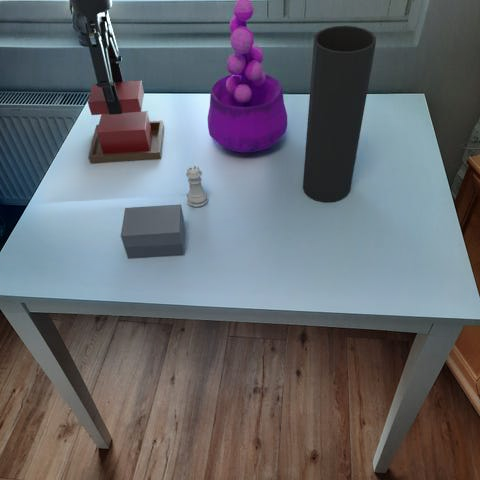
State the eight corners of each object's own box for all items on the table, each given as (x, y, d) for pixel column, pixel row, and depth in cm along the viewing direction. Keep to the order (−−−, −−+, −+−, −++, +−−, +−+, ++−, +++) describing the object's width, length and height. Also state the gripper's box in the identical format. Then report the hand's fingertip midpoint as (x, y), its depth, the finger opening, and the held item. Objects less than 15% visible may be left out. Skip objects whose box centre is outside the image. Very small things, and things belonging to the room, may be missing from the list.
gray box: (128, 258, 92) (120, 235, 87) (131, 230, 96) (124, 207, 92) (184, 255, 92) (179, 232, 87) (185, 227, 96) (181, 204, 92)
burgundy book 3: (103, 155, 112) (100, 144, 109) (108, 136, 116) (104, 125, 114) (150, 152, 111) (147, 141, 109) (152, 134, 116) (149, 122, 114)
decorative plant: (293, 157, 109) (301, 12, 85) (214, 167, 108) (200, 24, 84) (277, 115, 120) (280, -24, 97) (206, 124, 119) (190, -14, 95)
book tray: (91, 166, 111) (88, 156, 108) (99, 134, 119) (96, 124, 117) (161, 162, 110) (159, 152, 108) (164, 130, 119) (163, 120, 116)
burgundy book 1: (91, 115, 103) (87, 102, 101) (96, 96, 108) (92, 83, 106) (141, 111, 103) (138, 98, 101) (144, 93, 108) (141, 80, 106)
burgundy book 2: (100, 144, 109) (96, 132, 107) (104, 125, 114) (101, 113, 112) (147, 141, 109) (144, 129, 107) (149, 122, 114) (147, 110, 111)
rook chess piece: (211, 197, 102) (207, 165, 95) (203, 210, 99) (199, 178, 93) (192, 193, 103) (187, 161, 97) (184, 205, 100) (178, 174, 94)
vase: (360, 191, 101) (389, 41, 77) (321, 208, 98) (339, 58, 74) (330, 167, 106) (349, 20, 82) (293, 183, 103) (301, 35, 79)
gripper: (99, 5, 81) (130, 127, 99) (113, -36, 94) (138, 79, 112) (56, 8, 81) (94, 129, 99) (76, -34, 94) (107, 81, 112)
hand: (118, 103), depth 106 cm, fingers closed on burgundy book 1, 8 cm apart
